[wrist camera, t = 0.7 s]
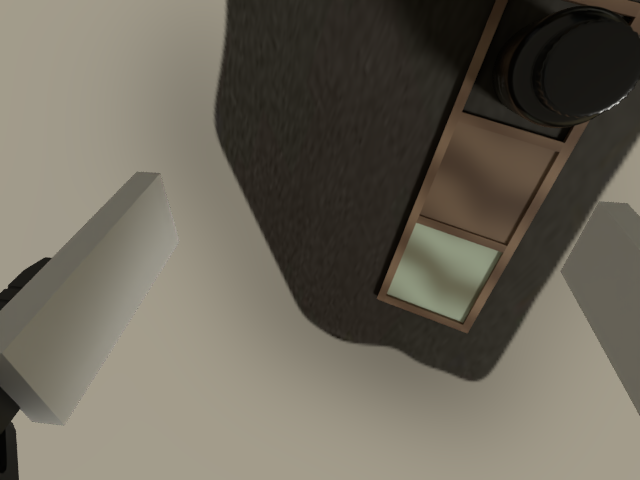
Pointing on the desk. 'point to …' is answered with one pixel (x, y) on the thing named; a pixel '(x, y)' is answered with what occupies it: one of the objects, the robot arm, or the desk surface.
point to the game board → (476, 201)
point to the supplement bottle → (568, 67)
